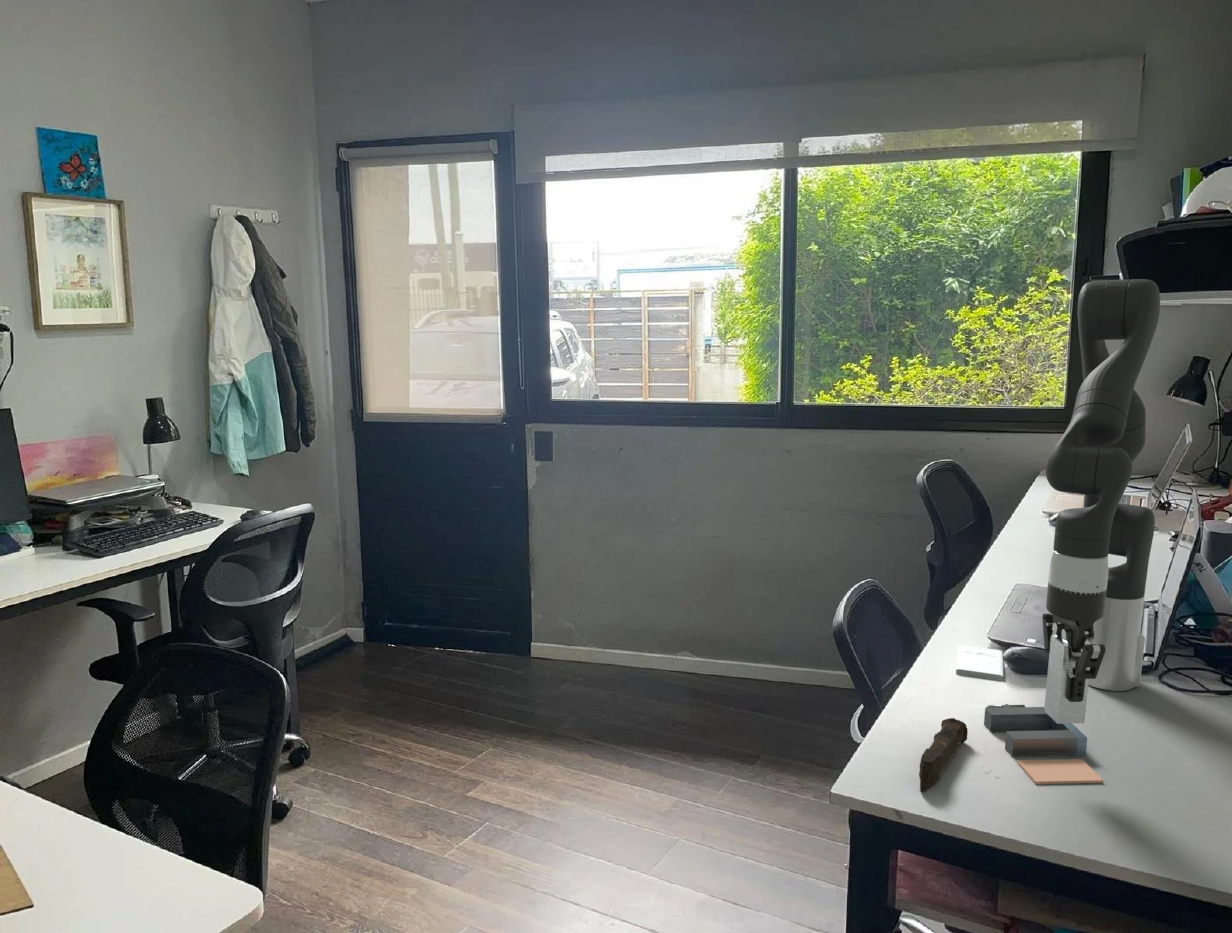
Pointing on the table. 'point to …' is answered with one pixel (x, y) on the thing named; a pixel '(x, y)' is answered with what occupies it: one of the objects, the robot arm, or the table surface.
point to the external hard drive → (979, 662)
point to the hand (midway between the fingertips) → (1066, 693)
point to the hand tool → (941, 751)
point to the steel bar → (1062, 687)
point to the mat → (1059, 771)
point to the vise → (1034, 732)
